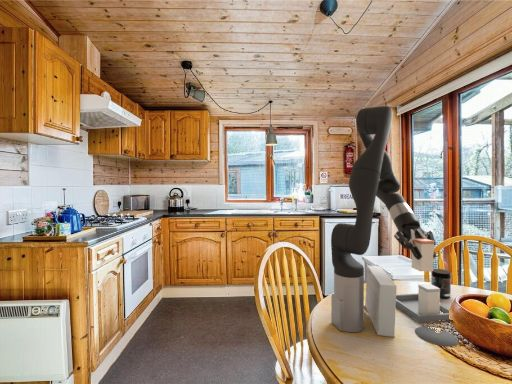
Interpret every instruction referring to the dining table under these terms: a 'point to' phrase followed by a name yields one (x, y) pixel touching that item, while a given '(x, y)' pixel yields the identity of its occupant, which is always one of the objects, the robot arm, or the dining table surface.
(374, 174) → the robot arm
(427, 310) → the white lid box
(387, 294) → the skincare box
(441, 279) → the supplement container
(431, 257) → the rust lid box
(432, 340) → the slate mat
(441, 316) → the parts tray
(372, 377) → the dining table surface
